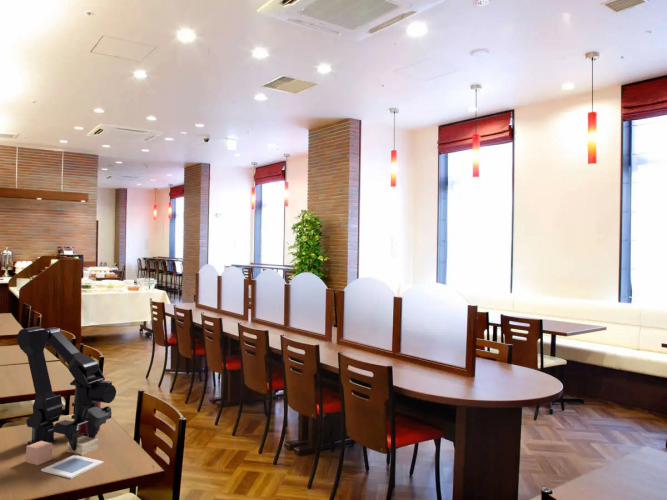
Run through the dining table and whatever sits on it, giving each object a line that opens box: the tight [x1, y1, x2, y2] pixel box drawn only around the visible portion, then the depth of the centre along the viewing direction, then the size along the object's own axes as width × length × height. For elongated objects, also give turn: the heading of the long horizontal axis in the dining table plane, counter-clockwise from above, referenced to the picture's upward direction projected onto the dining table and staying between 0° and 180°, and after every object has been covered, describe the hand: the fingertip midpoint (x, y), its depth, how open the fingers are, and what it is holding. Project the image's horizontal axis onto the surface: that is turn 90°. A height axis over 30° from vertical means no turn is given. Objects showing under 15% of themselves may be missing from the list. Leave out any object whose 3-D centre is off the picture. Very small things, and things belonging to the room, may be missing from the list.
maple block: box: [66, 435, 99, 456], centre depth 168 cm, size 6×6×3 cm
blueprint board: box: [40, 454, 105, 479], centre depth 155 cm, size 12×12×1 cm
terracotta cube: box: [25, 441, 54, 466], centre depth 159 cm, size 5×5×5 cm
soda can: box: [77, 402, 102, 436], centre depth 184 cm, size 7×7×12 cm
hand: (82, 446), depth 168 cm, fingers closed on maple block, 6 cm apart
